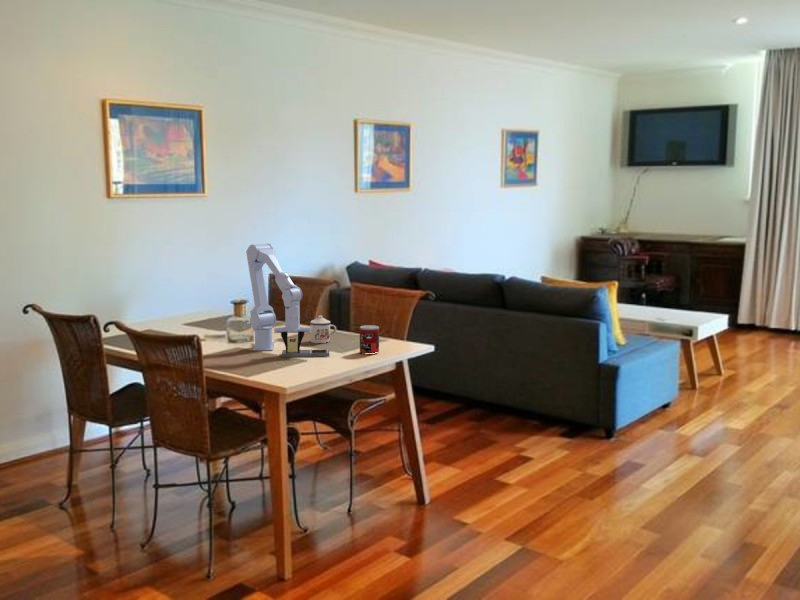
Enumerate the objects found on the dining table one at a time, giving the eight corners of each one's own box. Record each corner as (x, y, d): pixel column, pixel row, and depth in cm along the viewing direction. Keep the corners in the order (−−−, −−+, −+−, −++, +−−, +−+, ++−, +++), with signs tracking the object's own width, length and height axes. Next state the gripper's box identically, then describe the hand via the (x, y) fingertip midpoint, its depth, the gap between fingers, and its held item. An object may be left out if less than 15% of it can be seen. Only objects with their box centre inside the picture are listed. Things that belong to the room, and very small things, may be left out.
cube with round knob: (288, 354, 321) (287, 337, 320) (298, 354, 321) (297, 337, 320) (287, 356, 317) (287, 339, 316) (297, 356, 317) (297, 339, 316)
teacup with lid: (314, 344, 341) (314, 318, 339) (307, 340, 349) (306, 314, 347) (339, 342, 346) (339, 316, 345) (332, 338, 354) (332, 313, 353)
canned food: (356, 352, 325) (356, 326, 324) (371, 350, 330) (371, 324, 329) (367, 355, 319) (367, 329, 318) (382, 353, 324) (382, 327, 323)
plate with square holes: (282, 353, 322) (282, 349, 322) (329, 353, 324) (329, 349, 324) (281, 357, 315) (281, 353, 315) (329, 356, 317) (329, 352, 317)
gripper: (273, 319, 312) (274, 352, 314) (310, 318, 313) (310, 352, 315) (274, 316, 319) (275, 348, 321) (310, 315, 320) (310, 348, 322)
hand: (292, 350), depth 319 cm, fingers closed on cube with round knob, 4 cm apart
